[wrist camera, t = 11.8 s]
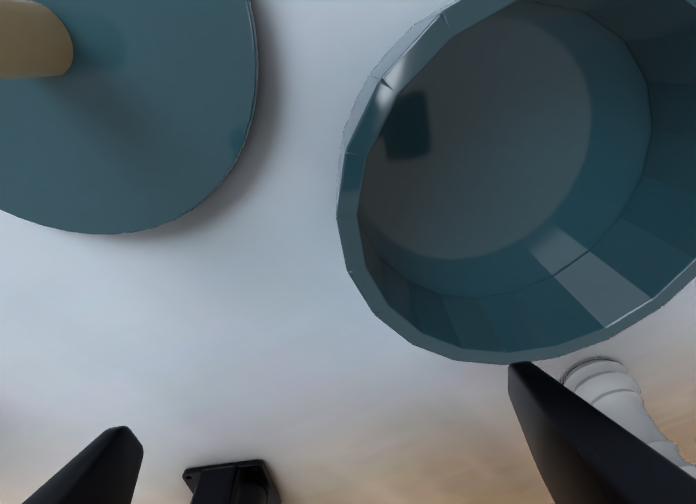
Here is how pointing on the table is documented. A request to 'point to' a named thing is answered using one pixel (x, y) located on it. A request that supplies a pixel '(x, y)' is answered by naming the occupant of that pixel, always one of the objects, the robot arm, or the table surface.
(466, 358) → the pot
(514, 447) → the table surface
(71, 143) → the lid
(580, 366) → the rook chess piece
